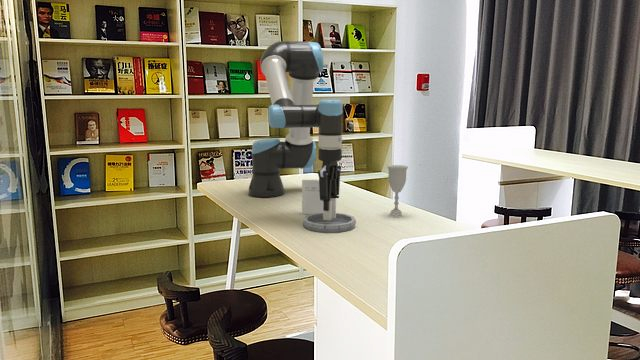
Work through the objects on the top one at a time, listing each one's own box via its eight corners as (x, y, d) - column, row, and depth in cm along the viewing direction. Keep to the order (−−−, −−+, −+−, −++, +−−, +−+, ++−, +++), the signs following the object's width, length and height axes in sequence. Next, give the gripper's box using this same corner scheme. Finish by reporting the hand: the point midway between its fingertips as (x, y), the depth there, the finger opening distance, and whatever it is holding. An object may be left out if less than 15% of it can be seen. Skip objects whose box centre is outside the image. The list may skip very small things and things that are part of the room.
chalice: (407, 215, 191) (409, 165, 188) (404, 219, 185) (406, 168, 181) (387, 213, 193) (389, 164, 190) (383, 217, 187) (385, 167, 184)
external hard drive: (302, 212, 194) (302, 179, 191) (324, 213, 193) (325, 179, 190) (301, 213, 192) (301, 180, 190) (324, 214, 191) (324, 180, 189)
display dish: (294, 228, 172) (294, 221, 172) (317, 217, 187) (317, 210, 187) (342, 235, 165) (343, 227, 165) (362, 222, 180) (362, 215, 180)
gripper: (330, 151, 163) (329, 225, 167) (350, 146, 177) (349, 214, 181) (308, 150, 166) (308, 223, 170) (329, 144, 180) (329, 212, 184)
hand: (329, 218), depth 176 cm, fingers open, 3 cm apart
